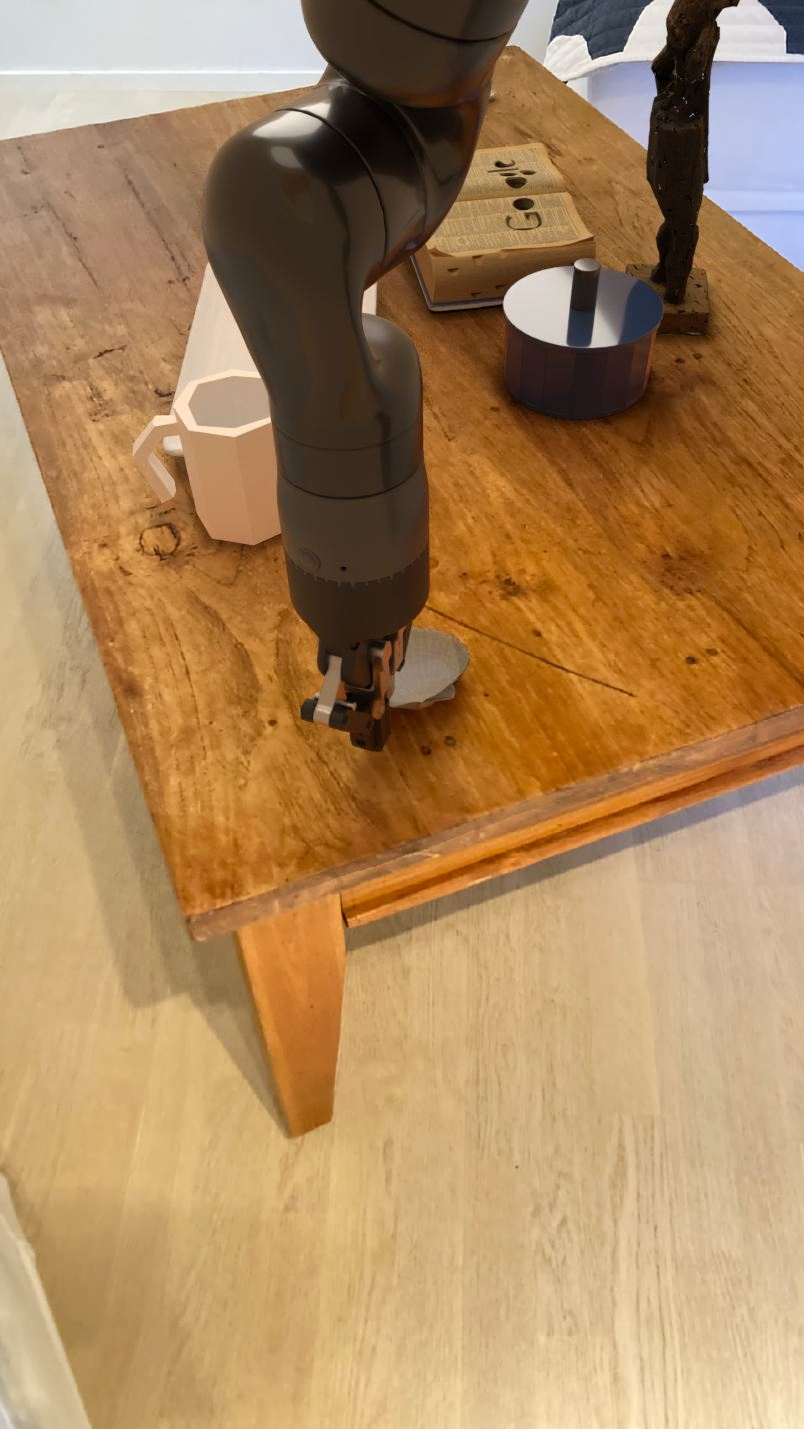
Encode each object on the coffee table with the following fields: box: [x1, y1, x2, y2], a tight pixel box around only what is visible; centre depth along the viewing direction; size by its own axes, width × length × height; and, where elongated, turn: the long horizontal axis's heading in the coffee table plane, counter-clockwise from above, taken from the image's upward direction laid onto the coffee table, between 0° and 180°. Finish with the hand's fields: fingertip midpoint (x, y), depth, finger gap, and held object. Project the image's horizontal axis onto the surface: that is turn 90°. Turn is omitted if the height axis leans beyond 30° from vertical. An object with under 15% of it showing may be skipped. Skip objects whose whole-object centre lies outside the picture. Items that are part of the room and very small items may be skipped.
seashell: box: [389, 626, 470, 711], centre depth 70 cm, size 8×3×8 cm
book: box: [409, 141, 597, 312], centre depth 108 cm, size 25×17×6 cm
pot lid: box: [502, 258, 664, 353], centre depth 88 cm, size 13×13×5 cm
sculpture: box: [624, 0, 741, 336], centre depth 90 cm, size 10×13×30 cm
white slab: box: [161, 261, 378, 458], centre depth 94 cm, size 17×31×4 cm, turn 0°
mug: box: [131, 369, 281, 546], centre depth 80 cm, size 12×9×10 cm
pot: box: [502, 321, 657, 421], centre depth 92 cm, size 13×13×6 cm
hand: (371, 740), depth 67 cm, fingers closed
